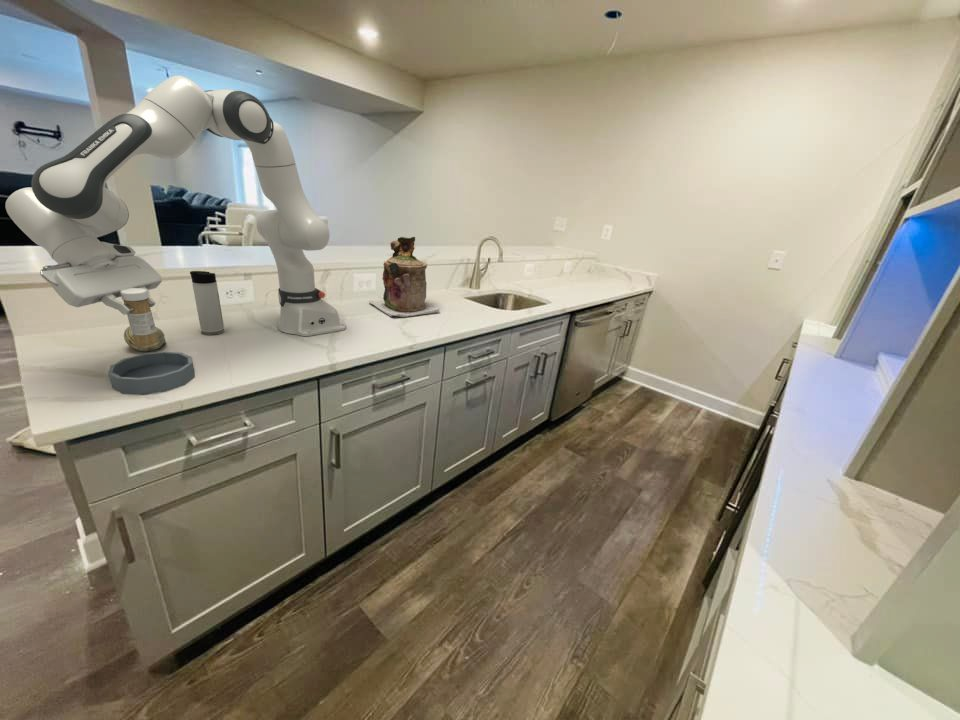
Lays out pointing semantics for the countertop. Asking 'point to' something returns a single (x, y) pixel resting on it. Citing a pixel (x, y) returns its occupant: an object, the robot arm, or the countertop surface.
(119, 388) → the slate bowl
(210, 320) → the travel mug
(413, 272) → the cookie jar
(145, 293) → the sprinkles bottle
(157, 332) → the seashell
